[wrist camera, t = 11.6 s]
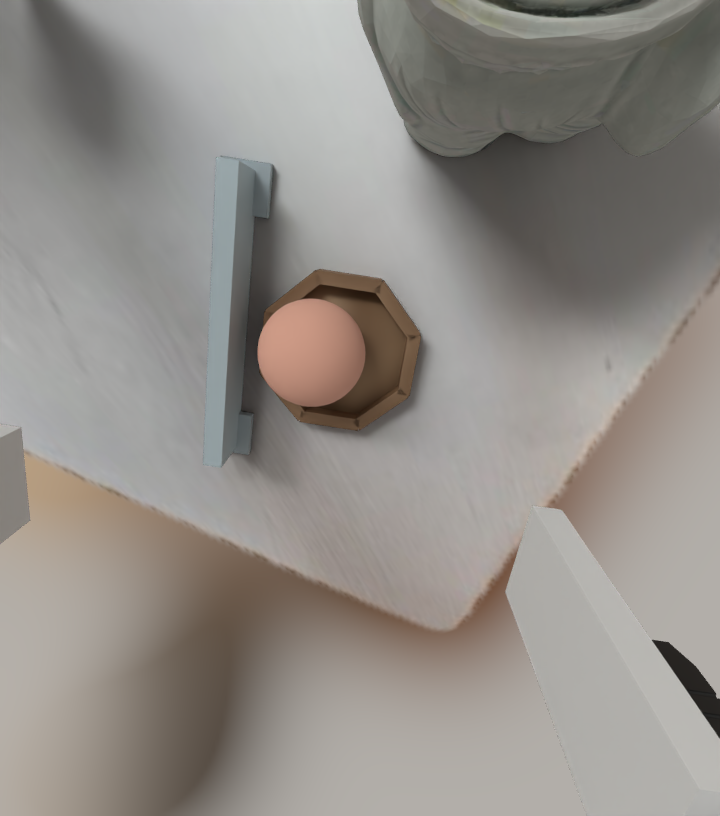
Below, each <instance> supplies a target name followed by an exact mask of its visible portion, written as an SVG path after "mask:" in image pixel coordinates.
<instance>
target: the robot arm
mask: <svg viewBox="0 0 720 816" xmlns="http://www.w3.org/2000/svg"><path fill="white" fill-rule="evenodd" d="M29 521H30V514H29V503H28V493H27V483H26V472H25V462H24V452H23V441H22V431H21V427H16V426H10V425H3V424H0V544H1V543H2V542H3V541H4V540H6V539H7V538H8V537H10V536H11V535H12V534H13V533H15V532H16V531H17V530H19V529H20V528H21V527H22V526H24V525H25V524H26V523H27V522H29ZM506 595H507V598H508V601H509V603H510V606H511V609H512V612H513V614H514V617H515V620H516V623H517V625H518V628H519V631H520V634H521V636H522V639H523V642H524V645H525V648H526V650H527V653H528V656H529V658H530V661H531V664H532V667H533V670H534V672H535V675H536V678H537V681H538V683H539V686H540V689H541V692H542V694H543V697H544V700H545V702H546V705H547V708H548V711H549V714H550V716H551V719H552V722H553V725H554V727H555V730H556V733H557V736H558V738H559V741H560V744H561V746H562V749H563V752H564V755H565V758H566V760H567V763H568V766H569V769H570V771H571V774H572V777H573V779H574V782H575V785H576V788H577V790H578V793H579V796H580V799H581V802H582V804H583V807H584V810H585V813H586V815H587V816H720V699H717V698H716V693H715V692H714V690H713V689H712V687H711V686H710V685H709V684H708V682H707V681H706V679H705V678H704V677H703V675H702V674H701V673H700V672H699V670H698V669H697V668H696V666H694V664H692V663H691V662H690V661H689V660H688V659H687V658H685V657H684V656H683V655H682V654H681V653H680V652H679V651H678V650H676V649H675V648H674V647H673V646H672V645H671V644H670V643H669V642H663V641H656V640H651V639H650V637H649V636H648V634H647V633H646V631H645V630H644V628H643V627H642V626H641V624H640V623H639V621H638V620H637V618H636V617H635V615H634V614H633V612H632V611H631V610H630V608H629V607H628V605H627V604H626V602H625V601H624V600H623V598H622V597H621V595H620V594H619V592H618V591H617V589H616V588H615V586H614V585H613V583H612V582H611V581H610V579H609V578H608V576H607V575H606V574H605V572H604V570H603V569H602V568H601V566H600V565H599V563H598V562H597V560H596V559H595V557H594V556H593V555H592V553H591V552H590V550H589V549H588V548H587V546H586V544H585V543H584V542H583V540H582V539H581V537H580V536H579V534H578V533H577V531H576V530H575V528H574V527H573V526H572V524H571V523H570V521H569V520H568V518H567V517H566V515H565V514H564V513H563V511H562V510H559V509H553V508H546V507H540V506H533V505H532V508H531V511H530V514H529V518H528V521H527V524H526V527H525V530H524V534H523V537H522V540H521V543H520V547H519V550H518V553H517V556H516V560H515V563H514V566H513V569H512V572H511V576H510V579H509V582H508V585H507V589H506Z"/></svg>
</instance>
